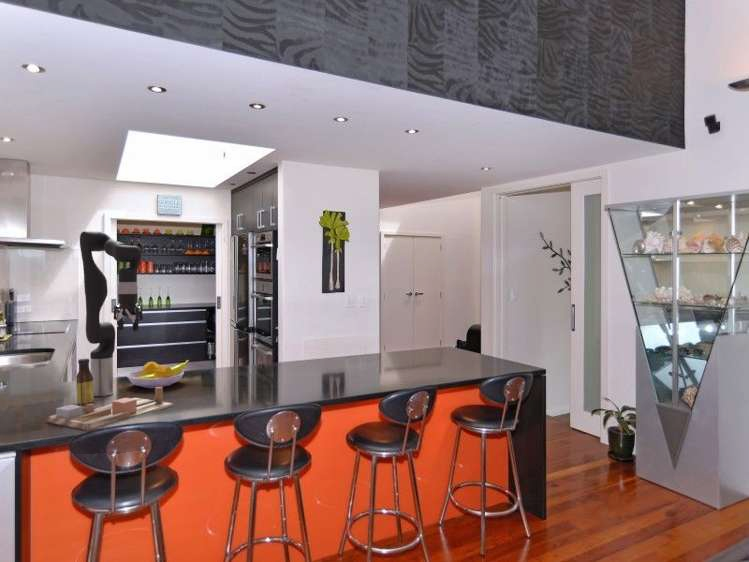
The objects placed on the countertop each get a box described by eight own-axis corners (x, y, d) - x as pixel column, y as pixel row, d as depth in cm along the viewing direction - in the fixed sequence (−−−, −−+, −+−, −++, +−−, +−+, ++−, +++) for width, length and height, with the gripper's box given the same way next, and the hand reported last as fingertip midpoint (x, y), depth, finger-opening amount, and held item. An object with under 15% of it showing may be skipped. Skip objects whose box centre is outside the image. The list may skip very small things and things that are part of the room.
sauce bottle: (96, 403, 225) (96, 357, 224) (89, 407, 219) (89, 360, 218) (81, 403, 225) (81, 357, 224) (73, 407, 218) (73, 360, 218)
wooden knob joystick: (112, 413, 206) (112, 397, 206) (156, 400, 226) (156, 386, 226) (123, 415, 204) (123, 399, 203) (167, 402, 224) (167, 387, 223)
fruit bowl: (123, 392, 244) (122, 368, 244) (133, 380, 270) (133, 358, 270) (186, 389, 251) (186, 366, 251) (190, 377, 278) (190, 356, 277)
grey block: (56, 421, 196) (56, 408, 195) (87, 412, 208) (87, 400, 207) (67, 423, 193) (67, 410, 193) (99, 414, 205) (98, 402, 205)
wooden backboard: (47, 424, 195) (47, 416, 195) (135, 399, 232) (135, 393, 232) (87, 432, 186) (87, 424, 186) (172, 405, 223) (172, 398, 223)
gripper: (147, 292, 222) (147, 330, 222) (123, 291, 227) (123, 328, 228) (132, 293, 215) (132, 332, 215) (108, 292, 220) (108, 330, 221)
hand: (128, 330), depth 221 cm, fingers open, 8 cm apart
